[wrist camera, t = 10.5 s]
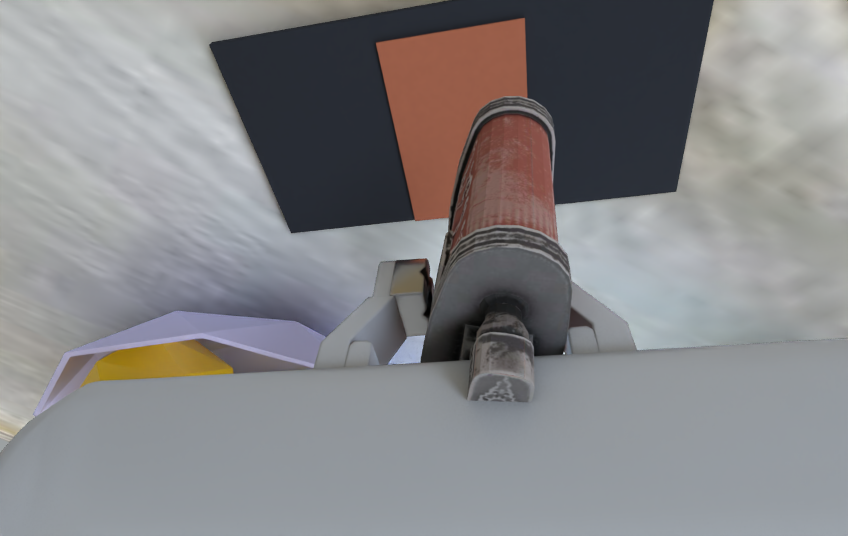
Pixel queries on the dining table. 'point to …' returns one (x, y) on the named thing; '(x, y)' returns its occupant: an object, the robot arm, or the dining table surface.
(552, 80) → the mat
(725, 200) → the dining table surface
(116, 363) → the fruit bowl
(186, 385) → the robot arm
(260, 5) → the dining table surface
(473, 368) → the lighter
